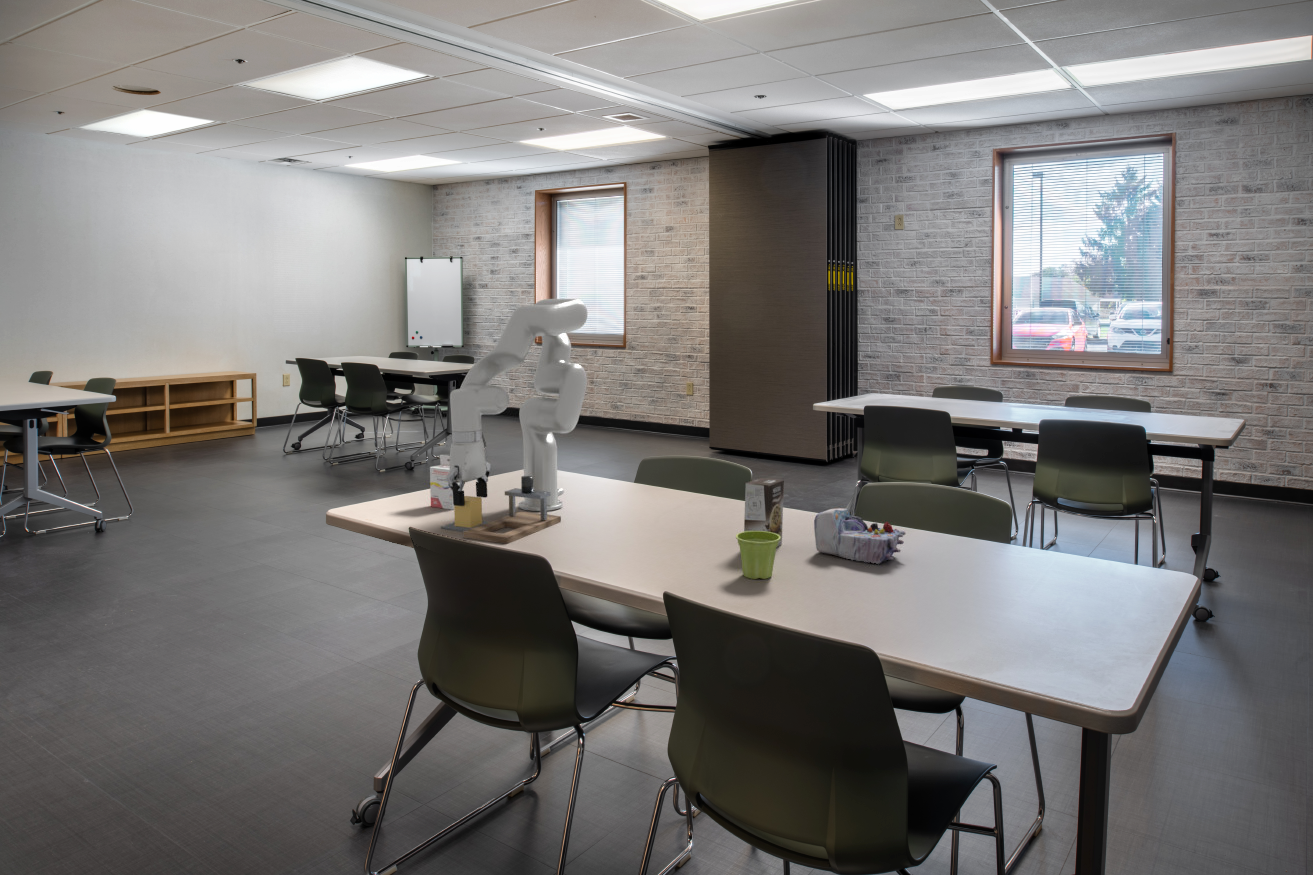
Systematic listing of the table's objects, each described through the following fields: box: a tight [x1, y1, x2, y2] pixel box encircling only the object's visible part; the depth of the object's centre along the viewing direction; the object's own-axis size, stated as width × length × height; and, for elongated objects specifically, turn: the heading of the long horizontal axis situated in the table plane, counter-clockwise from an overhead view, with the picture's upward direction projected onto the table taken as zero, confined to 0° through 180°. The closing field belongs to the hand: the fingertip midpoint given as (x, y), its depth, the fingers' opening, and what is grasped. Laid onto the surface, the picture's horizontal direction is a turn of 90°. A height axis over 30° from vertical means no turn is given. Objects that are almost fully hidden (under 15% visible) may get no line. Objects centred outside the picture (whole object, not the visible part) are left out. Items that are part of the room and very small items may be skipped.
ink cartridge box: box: [429, 454, 465, 511], centre depth 245 cm, size 9×5×15 cm, turn 65°
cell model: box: [813, 507, 906, 565], centre depth 198 cm, size 13×11×20 cm
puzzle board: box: [462, 511, 562, 544], centre depth 221 cm, size 25×13×2 cm, turn 155°
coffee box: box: [743, 477, 785, 548], centre depth 205 cm, size 9×6×16 cm
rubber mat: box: [440, 520, 490, 532], centre depth 224 cm, size 10×10×1 cm
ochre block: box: [453, 495, 483, 528], centre depth 223 cm, size 5×5×7 cm
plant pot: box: [735, 531, 781, 580], centre depth 183 cm, size 9×9×9 cm
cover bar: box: [504, 475, 551, 520], centre depth 226 cm, size 5×11×11 cm, turn 65°
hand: (470, 501), depth 224 cm, fingers open, 9 cm apart
